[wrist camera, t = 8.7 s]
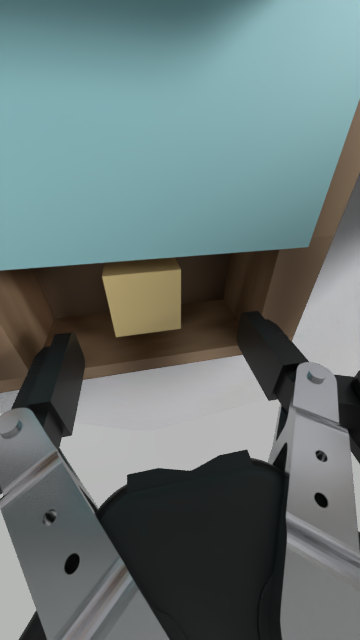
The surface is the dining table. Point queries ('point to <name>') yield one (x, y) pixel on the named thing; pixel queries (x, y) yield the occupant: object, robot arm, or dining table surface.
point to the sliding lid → (169, 125)
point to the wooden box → (196, 298)
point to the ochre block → (143, 295)
